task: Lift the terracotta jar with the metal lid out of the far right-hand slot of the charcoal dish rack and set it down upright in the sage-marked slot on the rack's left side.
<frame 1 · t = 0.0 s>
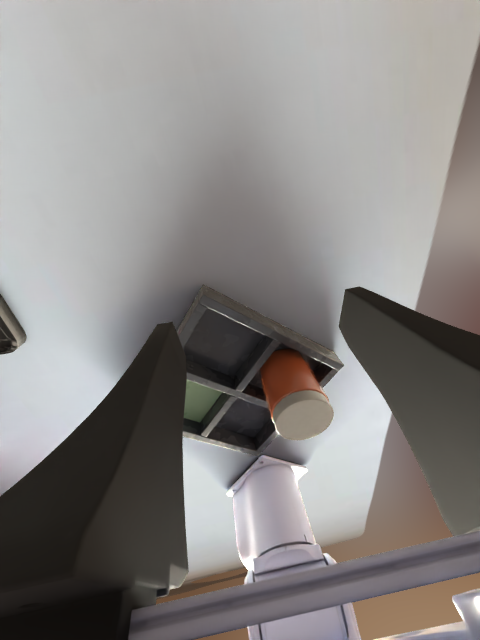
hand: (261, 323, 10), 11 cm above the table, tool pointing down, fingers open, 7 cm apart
rack: (234, 378, 26), on the table
jar: (282, 368, 25), resting on rack
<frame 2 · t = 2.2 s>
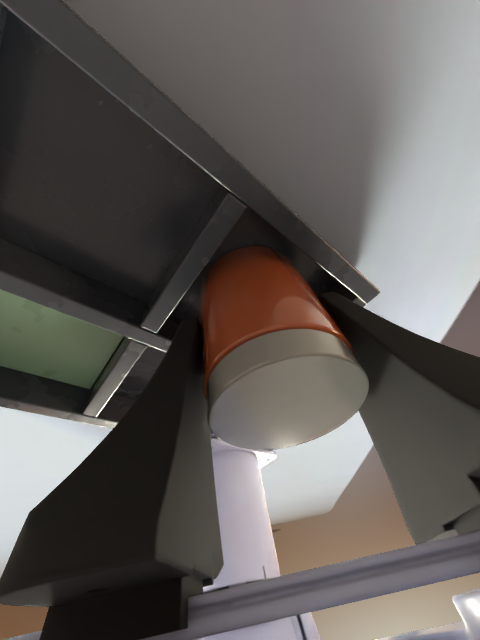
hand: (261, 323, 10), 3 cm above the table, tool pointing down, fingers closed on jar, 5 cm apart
rack: (150, 307, 12), on the table
jar: (250, 293, 12), resting on rack, touching gripper
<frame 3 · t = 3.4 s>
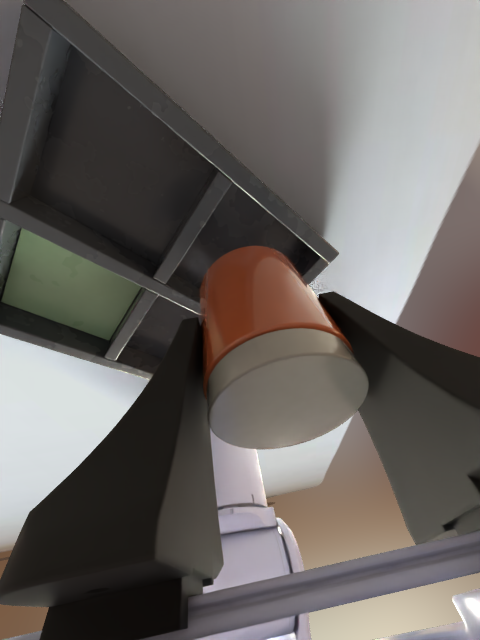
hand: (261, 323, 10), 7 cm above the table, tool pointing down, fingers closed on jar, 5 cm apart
rack: (159, 269, 16), on the table
jar: (250, 293, 12), point 5 cm above the table, touching gripper
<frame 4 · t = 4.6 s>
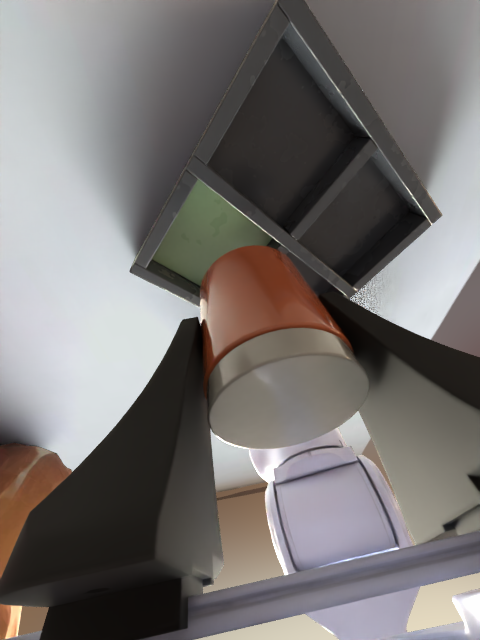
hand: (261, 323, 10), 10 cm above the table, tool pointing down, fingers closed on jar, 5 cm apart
butternut squash: (27, 448, 31), on the table
rack: (280, 232, 18), on the table
jar: (250, 293, 12), point 7 cm above the table, touching gripper
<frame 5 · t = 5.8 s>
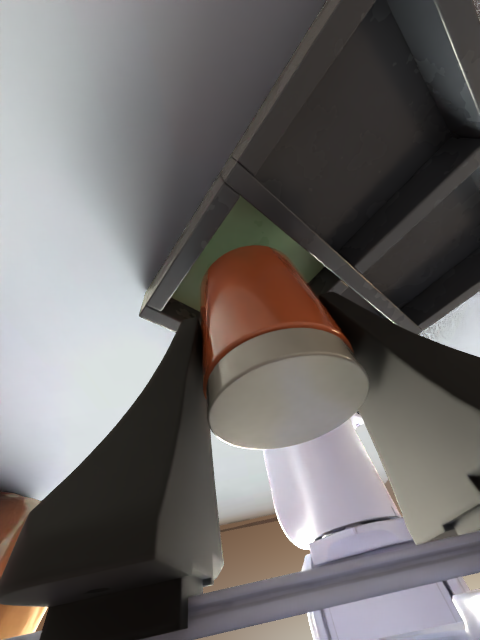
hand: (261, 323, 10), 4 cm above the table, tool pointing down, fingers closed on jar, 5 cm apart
butternut squash: (14, 495, 27), on the table
rack: (332, 258, 14), on the table
jar: (250, 293, 12), point 2 cm above the table, touching gripper
when the fingers open (3 cm above the table, at t = 6.8 s): jar stays where it is, resting on rack.
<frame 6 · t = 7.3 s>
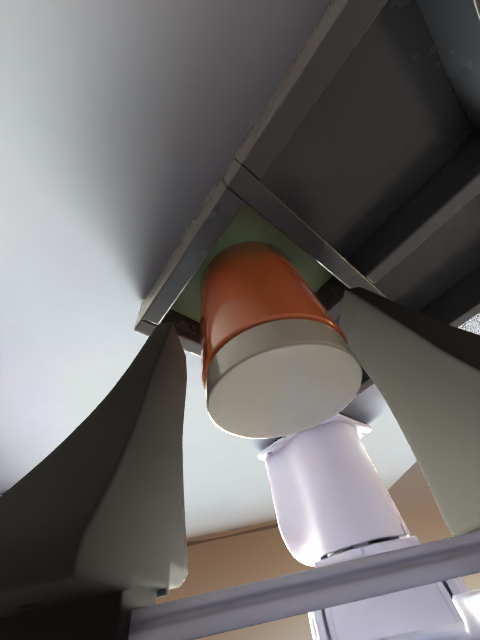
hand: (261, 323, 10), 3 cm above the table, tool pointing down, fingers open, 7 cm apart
rack: (340, 266, 13), on the table
jar: (248, 289, 12), point 1 cm above the table, touching rack
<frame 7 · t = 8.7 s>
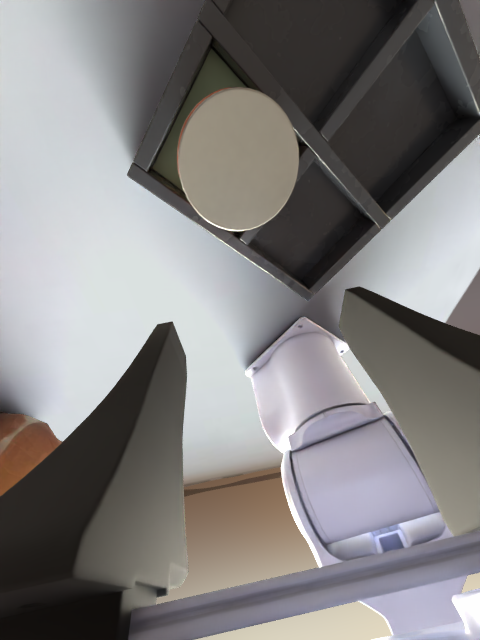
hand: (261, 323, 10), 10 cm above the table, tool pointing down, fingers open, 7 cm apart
butternut squash: (15, 419, 28), on the table
rack: (304, 142, 15), on the table
jar: (224, 155, 15), point 1 cm above the table, touching rack
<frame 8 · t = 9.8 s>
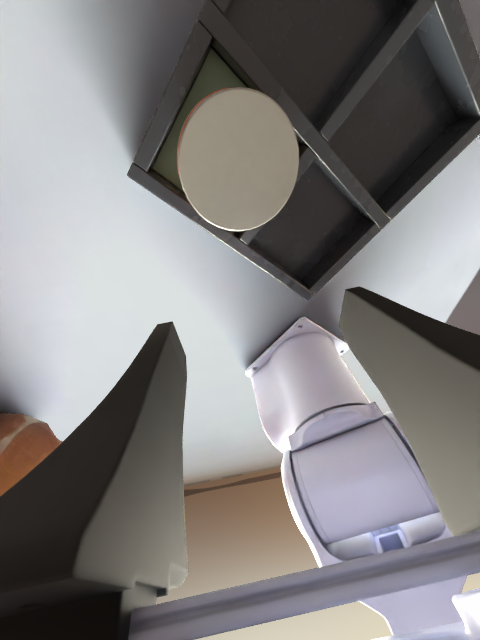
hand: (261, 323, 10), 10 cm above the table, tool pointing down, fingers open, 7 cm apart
butternut squash: (15, 419, 28), on the table
rack: (304, 142, 15), on the table
jar: (224, 155, 15), point 1 cm above the table, touching rack
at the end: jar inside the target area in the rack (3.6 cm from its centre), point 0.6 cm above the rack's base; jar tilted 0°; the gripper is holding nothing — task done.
